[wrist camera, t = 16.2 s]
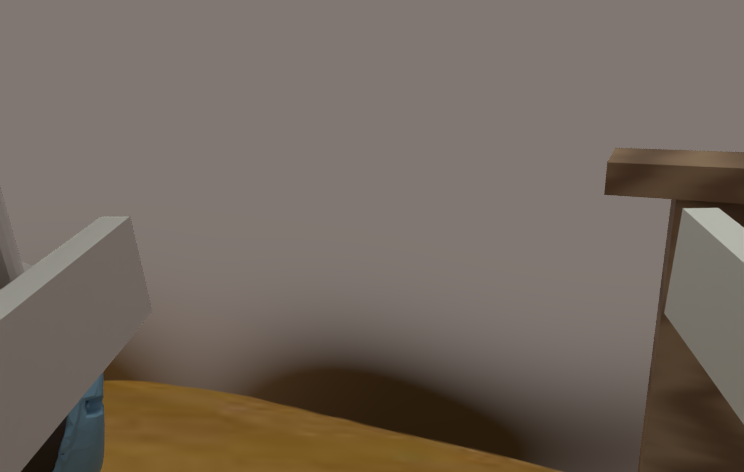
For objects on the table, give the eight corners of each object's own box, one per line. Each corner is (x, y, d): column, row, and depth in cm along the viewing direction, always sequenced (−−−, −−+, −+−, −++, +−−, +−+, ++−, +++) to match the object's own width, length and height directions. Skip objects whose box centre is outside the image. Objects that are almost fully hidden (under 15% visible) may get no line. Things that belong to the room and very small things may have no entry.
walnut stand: (570, 563, 43) (607, 162, 35) (581, 498, 50) (615, 147, 42) (835, 648, 37) (955, 177, 29) (807, 560, 43) (899, 157, 35)
